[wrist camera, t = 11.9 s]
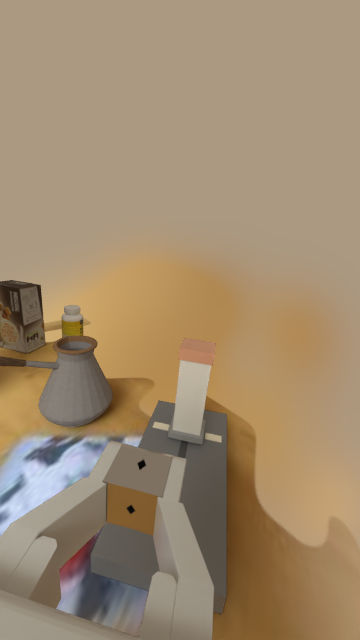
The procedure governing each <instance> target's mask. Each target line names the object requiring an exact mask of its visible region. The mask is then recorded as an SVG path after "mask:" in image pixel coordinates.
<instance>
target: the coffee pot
mask: <svg viewBox="0 0 360 640" xmlns="http://www.w3.org/2000/svg"><path fill="white" fill-rule="evenodd" d="M96 347H97V341H96V340H95V339H93V338H91V337H87V336H66V337H63V338H61V339H59V340H57V341H56V342H55V343H54V344H53V348H54V350H55V351H57V353H58V359H57V361H56V363H54V362H38V361H26V360H20V359H13V358H6V357H0V366H21V367H24V366H29V367H39V368H50V369H53V370H52V372H51V374H50V377H49V379H48V381H47V384H46V386H45V388H44V390H43V393H42V395H41V397H40V400H39V409H40V412H41V413H42V415H43V416H44V417H45V418H46V419H47V420H48V421H50V422H53V423H55V424H57V425H61V426H65V427H78V426H83V425H86V424H88V423H90V422H92V421H94V420H95V419H96V418H98V417H99V416H100V415H101V414H103V413H104V412H105V411H106V410H107V408H108V406H109V405H110V403H111V401H112V396H113V394H112V390H111V387H110V385H109V383H108V381H107V380H106V378H105V376H104V374H103V372H102V370H101V368H100V366H99V364H98V362H97V360H96V358H95V357H94V354H93V352H94V349H95V348H96Z"/></svg>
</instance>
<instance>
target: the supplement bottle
mask: <svg viewBox="0 0 360 640" xmlns="http://www.w3.org/2000/svg"><path fill="white" fill-rule="evenodd" d="M64 312H65V314H63V315H62V338H63V337H66V336H83V316H82V315H81V314H80V307H79V306H77V305H69V306H65V307H64Z"/></svg>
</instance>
